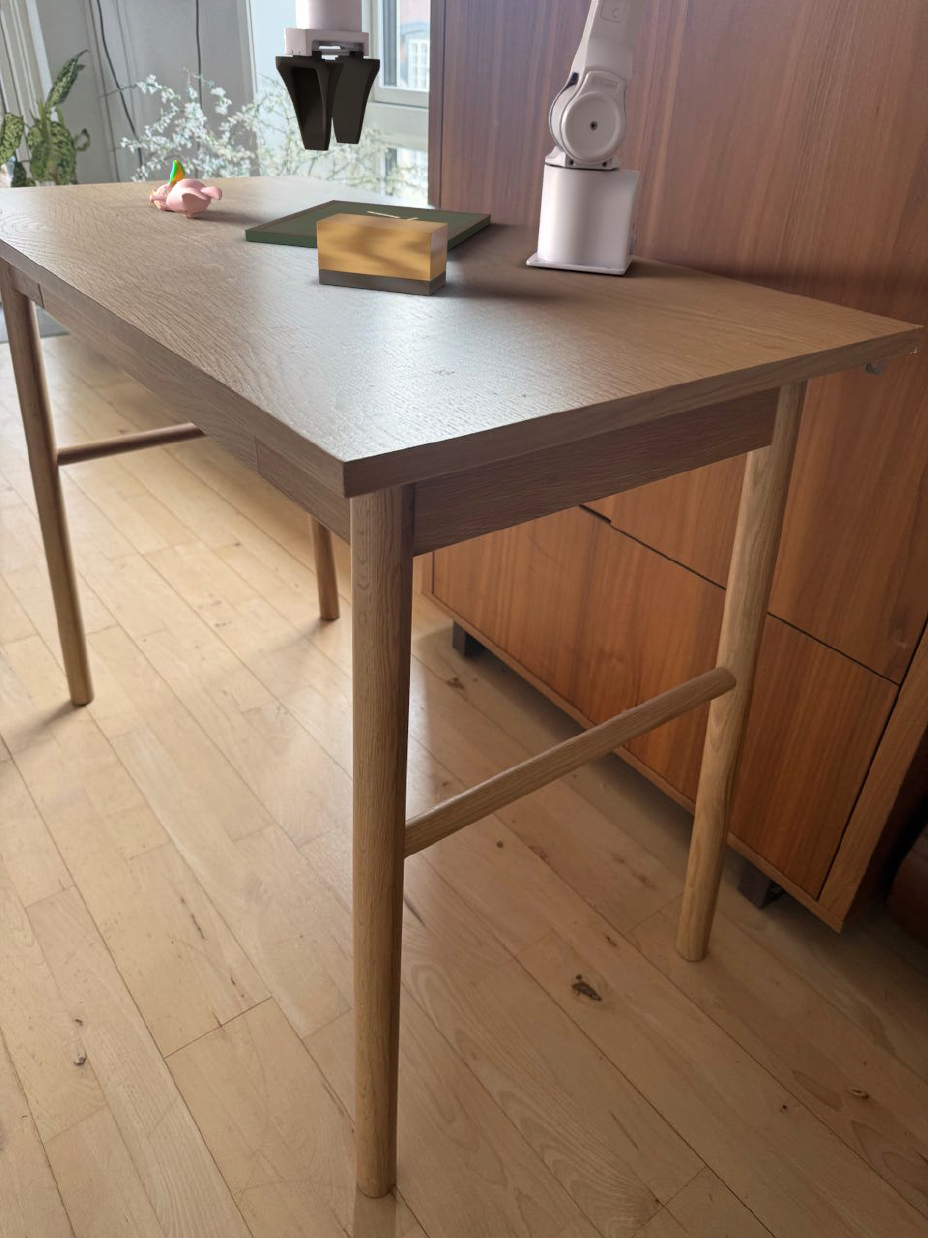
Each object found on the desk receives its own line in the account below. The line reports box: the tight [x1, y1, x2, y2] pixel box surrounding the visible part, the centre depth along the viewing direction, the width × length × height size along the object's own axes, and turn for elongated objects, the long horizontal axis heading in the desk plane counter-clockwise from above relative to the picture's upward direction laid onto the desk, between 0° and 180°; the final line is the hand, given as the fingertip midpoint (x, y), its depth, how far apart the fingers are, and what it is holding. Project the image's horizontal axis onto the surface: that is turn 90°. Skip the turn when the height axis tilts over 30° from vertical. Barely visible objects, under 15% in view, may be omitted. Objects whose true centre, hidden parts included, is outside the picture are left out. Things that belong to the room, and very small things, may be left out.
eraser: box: [317, 213, 448, 297], centre depth 80 cm, size 10×5×5 cm, turn 75°
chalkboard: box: [244, 199, 492, 252], centre depth 103 cm, size 20×24×1 cm
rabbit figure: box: [149, 159, 223, 218], centre depth 104 cm, size 6×6×15 cm
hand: (332, 146), depth 87 cm, fingers open, 7 cm apart
